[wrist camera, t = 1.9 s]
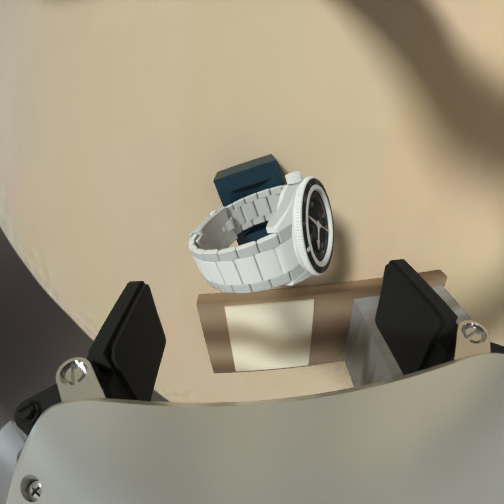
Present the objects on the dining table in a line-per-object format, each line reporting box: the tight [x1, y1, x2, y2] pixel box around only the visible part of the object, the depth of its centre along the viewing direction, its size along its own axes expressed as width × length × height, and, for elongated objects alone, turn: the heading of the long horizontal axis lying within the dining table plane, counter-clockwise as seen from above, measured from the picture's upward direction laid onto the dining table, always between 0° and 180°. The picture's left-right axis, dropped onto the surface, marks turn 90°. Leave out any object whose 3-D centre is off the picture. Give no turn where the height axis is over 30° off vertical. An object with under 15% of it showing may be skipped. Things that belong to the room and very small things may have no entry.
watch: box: [188, 154, 334, 293], centre depth 17 cm, size 6×8×11 cm
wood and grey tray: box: [197, 270, 473, 387], centre depth 23 cm, size 10×26×12 cm, turn 94°
